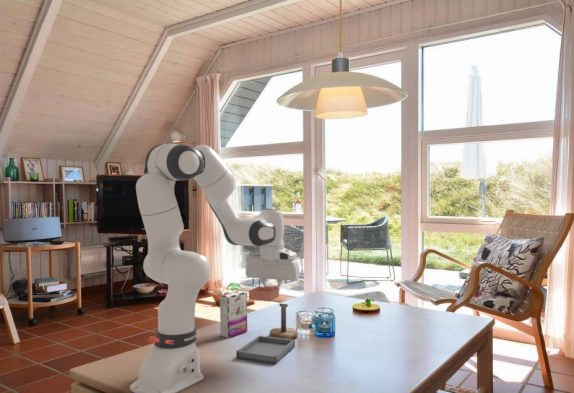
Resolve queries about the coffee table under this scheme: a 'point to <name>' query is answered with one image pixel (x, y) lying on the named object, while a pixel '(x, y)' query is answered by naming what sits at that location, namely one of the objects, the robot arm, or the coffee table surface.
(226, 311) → the candy bar box
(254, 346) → the tray
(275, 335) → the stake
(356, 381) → the coffee table surface
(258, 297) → the orange hollow block
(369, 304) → the toy character
